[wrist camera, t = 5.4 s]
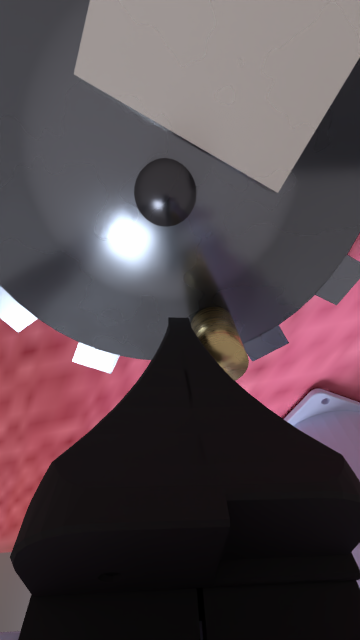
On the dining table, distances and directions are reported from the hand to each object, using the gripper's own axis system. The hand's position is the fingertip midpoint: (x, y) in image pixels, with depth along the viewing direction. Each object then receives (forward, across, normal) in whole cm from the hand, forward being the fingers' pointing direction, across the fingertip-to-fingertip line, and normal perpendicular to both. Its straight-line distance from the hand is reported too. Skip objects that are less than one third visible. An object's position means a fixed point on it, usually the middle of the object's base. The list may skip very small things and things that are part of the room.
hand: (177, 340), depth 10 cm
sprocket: (+3, 0, -5) cm, 6 cm away
